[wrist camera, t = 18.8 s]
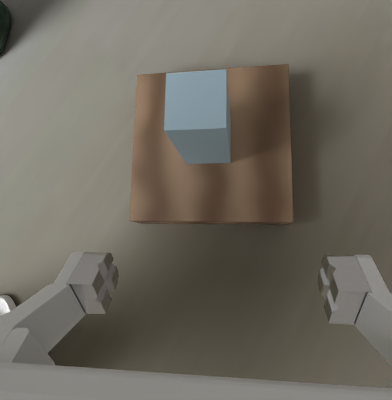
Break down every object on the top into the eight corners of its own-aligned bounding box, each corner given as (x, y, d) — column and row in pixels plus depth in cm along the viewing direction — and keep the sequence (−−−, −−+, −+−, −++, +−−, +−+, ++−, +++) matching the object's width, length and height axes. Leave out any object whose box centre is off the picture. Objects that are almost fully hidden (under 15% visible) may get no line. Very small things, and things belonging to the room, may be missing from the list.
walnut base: (141, 223, 37) (129, 220, 33) (147, 91, 40) (137, 74, 36) (287, 224, 35) (293, 222, 31) (283, 83, 37) (288, 64, 33)
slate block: (186, 163, 33) (164, 130, 24) (187, 122, 34) (166, 73, 24) (230, 162, 33) (226, 128, 23) (230, 120, 33) (226, 69, 24)
